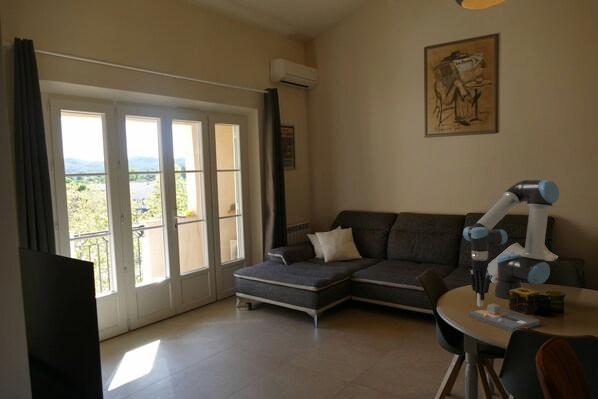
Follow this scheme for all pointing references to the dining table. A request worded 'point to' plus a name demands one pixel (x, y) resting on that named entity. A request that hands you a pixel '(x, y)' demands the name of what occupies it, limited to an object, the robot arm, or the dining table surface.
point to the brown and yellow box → (522, 300)
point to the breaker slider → (493, 308)
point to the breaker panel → (504, 319)
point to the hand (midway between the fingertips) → (480, 306)
